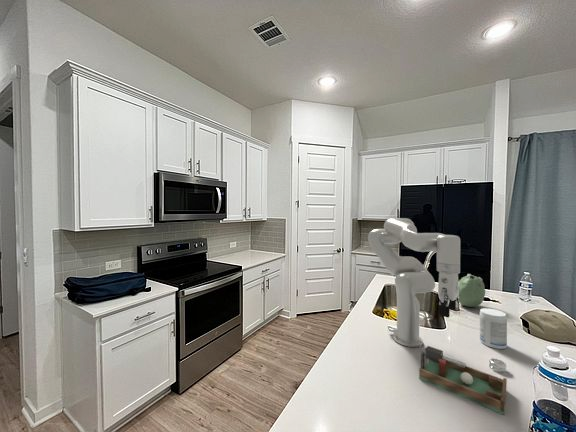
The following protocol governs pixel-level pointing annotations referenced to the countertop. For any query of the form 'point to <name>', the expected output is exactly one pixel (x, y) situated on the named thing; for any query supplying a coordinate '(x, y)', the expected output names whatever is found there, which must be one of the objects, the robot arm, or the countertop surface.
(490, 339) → the supplement tub
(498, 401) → the pitch
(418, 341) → the robot arm
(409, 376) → the countertop surface
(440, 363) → the multicoloured piece
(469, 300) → the cabbage
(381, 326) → the countertop surface
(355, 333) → the countertop surface
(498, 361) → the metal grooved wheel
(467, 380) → the ball
